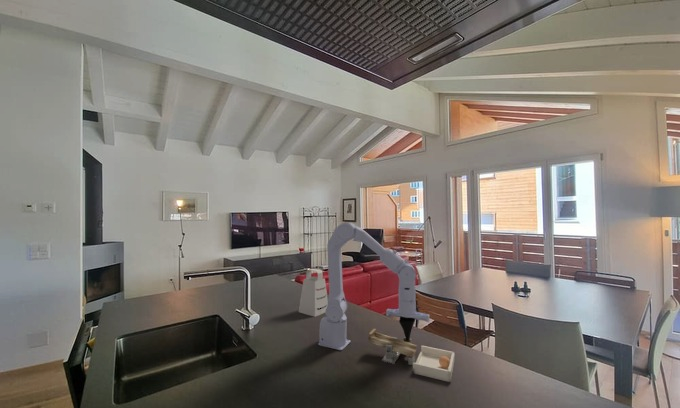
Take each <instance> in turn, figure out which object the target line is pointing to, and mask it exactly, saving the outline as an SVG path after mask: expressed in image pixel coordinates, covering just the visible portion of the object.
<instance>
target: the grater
mask: <svg viewBox="0 0 680 408" xmlns="http://www.w3.org/2000/svg"><path fill="white" fill-rule="evenodd" d="M312 271H313V272H316V273H317V276H312ZM323 273H324V272H323V271H322V269H318V268H309V269H307V270H306V273H305V278H303V280H302V286H301V287H302V288H301V294H300V300H299V307H298V313H301V314H304V315H307V316H310V317H314V318H315V317H317V316H321V315H322V314H325V311H326V308H327V305H328V292H327V284H326V278H324V275H323ZM320 308H321V309H320Z"/></svg>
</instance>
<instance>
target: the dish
mask: <svg viewBox="0 0 680 408" xmlns="http://www.w3.org/2000/svg"><path fill="white" fill-rule="evenodd" d="M420 347H421V348H420V349H421V350H420V352H419V354H418V356H417V358H416V360H415V361H414V362H413V365H412V373H413V374H415V375H420V376H422V377H423V376H424V377H426V378H427V377H428V378H432V379H436V380H440V381H444V382H447V383H451V382H452V377H453V371H454V366H455V361H456V360H455V357H456V356H455V355H456V354H455V353H456V352H455V351H451V350H446V349H441V348H437V347H436V348H435V347H431V346H426V345H421V346H420ZM442 356H446V357H448V358H449V360H450V364H449V367H448V368H443V367H442V366H441V365H440V364H439V359H440V357H442Z"/></svg>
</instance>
